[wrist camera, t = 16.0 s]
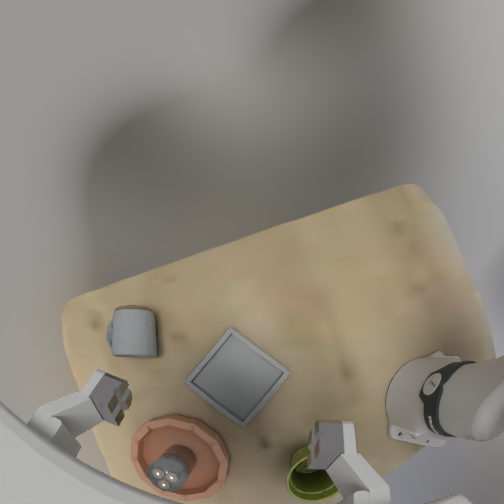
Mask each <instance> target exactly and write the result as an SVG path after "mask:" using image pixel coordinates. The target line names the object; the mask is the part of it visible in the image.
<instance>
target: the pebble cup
mask: <svg viewBox="0 0 504 504" xmlns="http://www.w3.org/2000/svg"><path fill="white" fill-rule="evenodd" d="M196 462H197V458H196V455H195V454H194V452H193V451H192V450H191V449H190V448H188V447H186V446H183V445H173V446H171V447H169V448H168V449H167V450H166V451H165V452H164V453H163V454H162V455H161V456H160V457H159V458H158V459H156V460H155V461H154V462H153V463H152V464H151V465H150V466H149V468H148V470H147V475H148V478H149V480H150V481H151V483H152V484H153V485H154V486H156V487H157V488H159V489H161V490H163V491H167V492H175V491H178V490H180V489H181V488H182V487H183V485H184V484H185V482H186V480H187V479H188V477H189V475H190V474H191V472H192V470H193V469H194V467H195V465H196Z"/></svg>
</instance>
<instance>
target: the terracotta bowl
mask: <svg viewBox="0 0 504 504" xmlns="http://www.w3.org/2000/svg"><path fill="white" fill-rule="evenodd" d="M173 445H183V446H186V447H188V448H190V449H191V450H192V451H193V452H194V454H195V455H196V458H197V462H196V465H195V467H194V469H193V470H192V472H191V474H190V475H189V477H188V479H187V480H186V482H185V484H184V485H183V487H182V488H181V489H180V490H178V491H175V492H167V491H163V490H161V489H159V488H157V487H156V486H154V485H153V484H152V483H151V481H150V480H149V478H148V475H147V470H148V468H149V466H150V465H151V464H152V463H153V462H154V461H155V460H156V459H158V458H159V457H160V456H161V455H162V454H163V453H164V452H165V451H166V450H167V449H168V448H169V447H171V446H173ZM229 458H230V455H229V453H228V451H227V449H226V447H225V445H224V443H223V441H222V439H221V437H220V436H219V434H217V433H216V432H215V431H213V430H212V429H211V428H209V427H208V426H207V425H205V424H204V423H203V422H201V421H200V420H197V419H193V418H189V417H184V416H180V415H176V414H173V415H169V416H165V417H161V418H156V419H153V420H151V421H149V422H147V423H145V424H144V425H143V427H142V428H141V429H140V430H139V431H138V432H137V433H136V434H135V435H134V436H133V438H132V444H131V460H132V462H133V464H134V466H135V468H136V470H137V472H138V474H139V476H140V477H141V478H142V480H143V481H145V482H146V483H147V484H148V485H150V486H151V487H152V488H154V489H155V490H156V491H158V492H159V493H160V494H162V495H166V496H169V497H173V498H176V499H180V500H184V501H188V500H195V499H201V498H207V497H210V496H211V495H212V494H213V493H214V492H216V491H217V490H218V489H219V488H220V487H221V486H222V485H223V484H225V480H226V476H227V470H228V464H229Z"/></svg>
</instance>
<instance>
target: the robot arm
mask: <svg viewBox="0 0 504 504" xmlns="http://www.w3.org/2000/svg"><path fill="white" fill-rule="evenodd" d="M128 386H129V384H128V382H127V380H124V379H121V378H119V377H116V376H113V375H111V374H109V373H107V372H104V371H102V370H99V369H98V370H96V371H95V372H94V373H93V375H92V376H91V377H90V379H89V380H88V381H87V383H86V384H85V385H84V387H83V388H82V390H81V391H80V392H74V393H72V394H70V395H67V396H65V397H62V398H60V399H57V400H55V401H52V402H50V403H47V404H45V405H42V406H40V407H39V408H38V410H37V411H36V412H35V414H34V415H33V417H32V418H31V419H30V421H29V422H28V423H27V424H26V423H25V422H24V421H22V420H21V419H20V418H19V417H18V416H17V415H15V414H14V413H13V412H12V411H11V410H10V409H9V408H7V407H6V406H5V405H4V404H3V403H2V402H1V401H0V504H182V503H178V502H175V501H172V500H169V499H166V498H163V497H160V496H157V495H154V494H151V493H148V492H146V491H143V490H141V489H138V488H136V487H133V486H131V485H128V484H126V483H124V482H121V481H119V480H117V479H115V478H113V477H111V476H109V475H107V474H104V473H103V472H101V471H98V470H97V469H95V468H93V467H91V466H89V465H87V464H86V463H84V462H82V461H80V460H79V459H77V458H76V456H77V454H78V452H79V450H80V449H81V445H80V443H79V442H78V441H77V440H76V439H75V437H77V436H78V435H80V434H82V433H84V432H85V431H87V430H89V429H91V428H92V427H94V426H96V425H97V424H99V423H101V422H102V421H103V420H105V421H107V422H109V423H112V424H114V425H117V426H119V425H120V423H121V421H122V419H123V418H124V412H123V411H125V410H127V409H129V407H130V405H131V402H132V393H131V391H130V390H129V389H128V388H127V387H128ZM386 411H387V415H388V419H389V427H388V436H389V437H390V438H392V439H396V440H401V441H405V442H410V443H414V444H419V445H424V446H430V447H436V448H439V447H441V446H442V445H444V444H445V443H446V442H447V441H454V440H455V439H456V438H457V437H462V438H465V439H468V440H475V441H488V440H490V439H493V438H495V437H497V436H498V435H499V434H501V433H502V432H503V431H504V356H502V357H499V358H496V359H493V360H489V361H484V362H478V363H476V362H474V361H467V360H464V361H461V360H460V358H459V357H456V356H445V355H444V354H443V353H442V352H441V351H436V352H434V353H432V354H431V355H429V356H428V357H425V358H417V359H414V360H412V361H410V362H408V363H407V364H405V365H404V366H403V367H402V368H401V369H400V370H399V371H398V372H397V373H396V375H395V376H394V378H393V380H392V382H391V384H390V386H389V389H388V392H387V397H386ZM399 432H400V434H399ZM398 434H399V435H398ZM308 448H309V450H310V451H311V452H310V453H309V455H308V456H307V469H326V471H327V473H328V475H329V476H330V478H331V479H332V481H333V482H334V484H335V486H336V487H337V489H338V490H339V492H340V493H341V495H342V496H343V498H344V500H342V501H341V502H339V503H337V504H391V500H390V489H389V486H388V485H387V484H386V483H385V481H384V480H383V479H382V478H381V477H380V476H379V475H378V473H377V472H376V471H375V470H374V469H373V468H372V467H371V465H370V464H369V463H368V462H367V461H366V460H365V458H364V457H363V456H362V455H361V454H360V453H357V449H356V439H355V430H354V423H353V421H340V420H317V421H316V423H315V428H313V429H312V430H311V432H310V434H309V438H308ZM425 504H473V503H472V502H471V501H470V500H468V499H467V498H466V497H464V496H463V495H462V494H460V493H455V494H452V495H449V496H446V497H443V498H440V499H437V500H435V501H431V502H428V503H425Z"/></svg>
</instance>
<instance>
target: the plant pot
mask: <svg viewBox="0 0 504 504" xmlns="http://www.w3.org/2000/svg"><path fill="white" fill-rule="evenodd" d="M310 452H311V451H310V450H309V448H308V445H305V446H303V447H301V448H299V449H298V450H297V451H296V452H295V453H294V454H293V456H292V458H291V469H290V471H289V473H288V475H287V480H286V484H287V488H288V491H289V492H290V494H291V495H292V496H294V497H295V498H297V499H299V500H301V501H306V502H317V501H322V500H326V499H328V498H330V497H333V496H334V495H336V494H337V493H339V490H338V489H337V487H336V486H335V484H334V482H333V481H332V479H331V478H330V476H329V475H328V473H327V471H326V469H312V470H311V471H305V469H307V456H308V455H309V453H310Z"/></svg>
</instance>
